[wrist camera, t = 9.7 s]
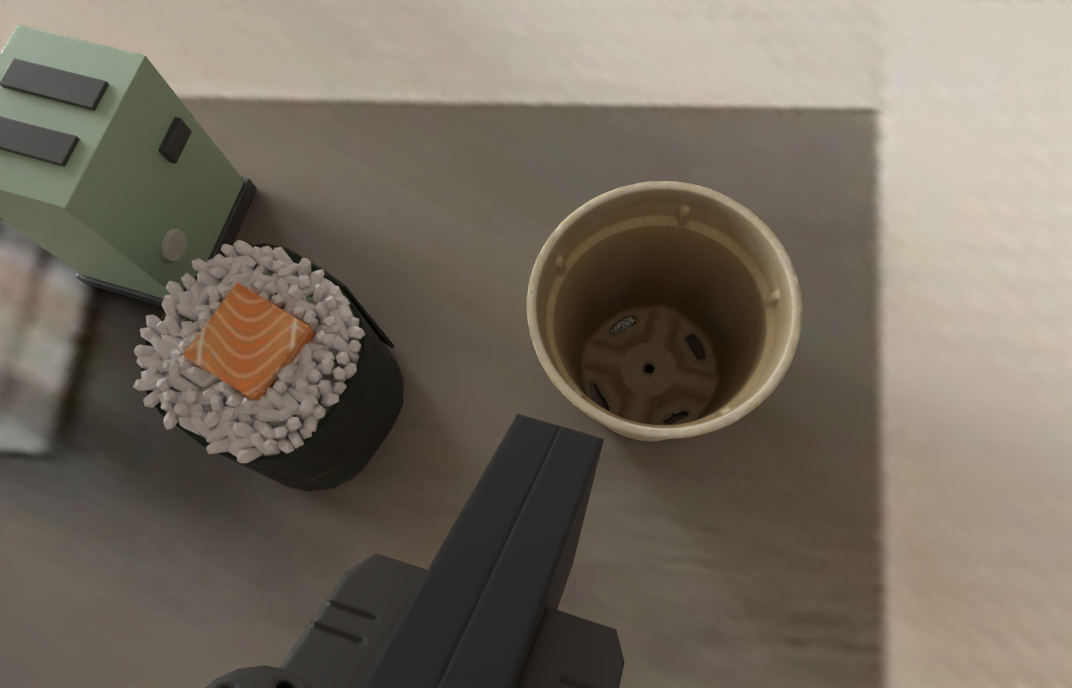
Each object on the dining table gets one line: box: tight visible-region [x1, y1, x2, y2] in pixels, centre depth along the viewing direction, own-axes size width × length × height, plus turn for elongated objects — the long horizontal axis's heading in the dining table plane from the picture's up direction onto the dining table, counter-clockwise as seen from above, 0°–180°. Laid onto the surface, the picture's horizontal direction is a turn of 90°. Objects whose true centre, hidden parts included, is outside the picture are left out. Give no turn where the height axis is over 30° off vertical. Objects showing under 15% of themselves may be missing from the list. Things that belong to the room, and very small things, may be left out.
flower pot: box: [526, 181, 802, 441], centre depth 34 cm, size 9×9×9 cm
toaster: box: [0, 25, 257, 307], centre depth 37 cm, size 6×7×11 cm
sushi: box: [133, 240, 403, 491], centre depth 35 cm, size 8×8×8 cm
